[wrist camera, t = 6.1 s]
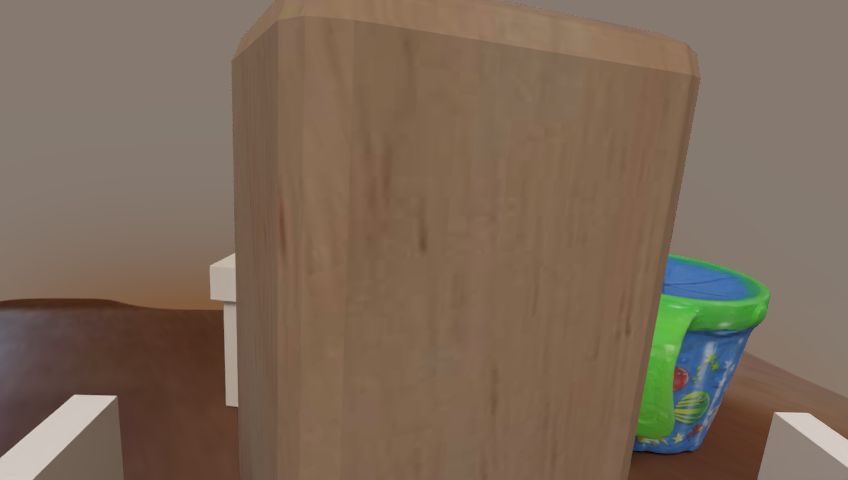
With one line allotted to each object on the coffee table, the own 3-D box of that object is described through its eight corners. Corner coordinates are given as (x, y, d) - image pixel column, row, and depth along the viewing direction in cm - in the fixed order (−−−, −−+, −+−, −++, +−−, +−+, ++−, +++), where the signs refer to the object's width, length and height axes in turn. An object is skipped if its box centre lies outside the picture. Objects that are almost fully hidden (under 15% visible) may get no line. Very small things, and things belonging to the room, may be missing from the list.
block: (284, 886, 12) (289, -66, 7) (238, 552, 20) (228, 31, 16) (602, 696, 16) (728, 34, 11) (451, 489, 25) (490, 67, 20)
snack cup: (731, 545, 22) (783, 335, 20) (512, 454, 28) (534, 280, 25) (733, 398, 35) (764, 261, 33) (584, 356, 41) (602, 235, 38)
